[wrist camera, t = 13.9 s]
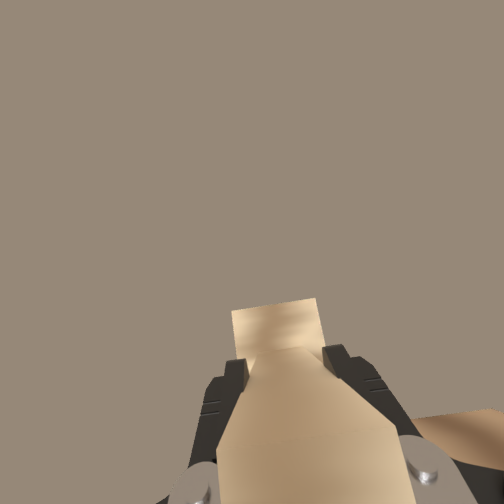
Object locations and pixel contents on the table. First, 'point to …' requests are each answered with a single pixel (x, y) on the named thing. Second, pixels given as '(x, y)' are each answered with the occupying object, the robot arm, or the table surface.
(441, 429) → the walnut tower
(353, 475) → the beige stepped block
